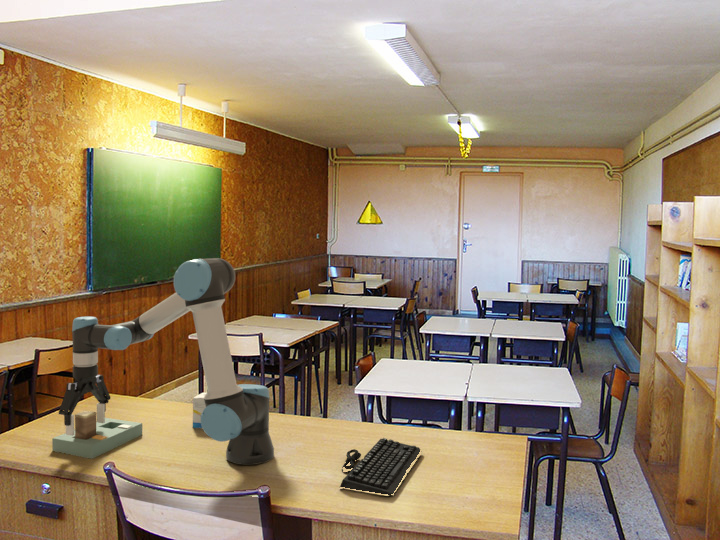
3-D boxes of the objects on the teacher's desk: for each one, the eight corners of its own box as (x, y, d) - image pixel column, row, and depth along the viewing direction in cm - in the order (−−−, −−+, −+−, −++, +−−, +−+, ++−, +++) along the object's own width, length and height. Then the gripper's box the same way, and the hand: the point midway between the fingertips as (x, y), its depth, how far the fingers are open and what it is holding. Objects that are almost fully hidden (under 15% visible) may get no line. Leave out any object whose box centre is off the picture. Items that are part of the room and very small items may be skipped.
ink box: (213, 430, 227) (213, 399, 227) (191, 429, 229) (192, 397, 228) (223, 423, 236) (223, 393, 235) (202, 421, 237) (202, 391, 237)
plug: (96, 444, 207) (96, 412, 207) (86, 449, 203) (86, 416, 202) (85, 443, 209) (85, 410, 208) (75, 447, 205) (74, 414, 204)
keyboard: (392, 499, 174) (392, 483, 174) (319, 487, 181) (319, 471, 181) (423, 455, 209) (423, 441, 209) (360, 446, 216) (361, 433, 216)
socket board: (142, 435, 220) (142, 422, 220) (92, 458, 198) (92, 443, 197) (105, 429, 226) (105, 416, 225) (52, 451, 203) (52, 437, 203)
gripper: (103, 356, 217) (103, 416, 219) (45, 371, 194) (46, 438, 195) (121, 358, 215) (121, 419, 216) (64, 373, 191) (65, 441, 193)
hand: (85, 428), depth 206 cm, fingers open, 13 cm apart
